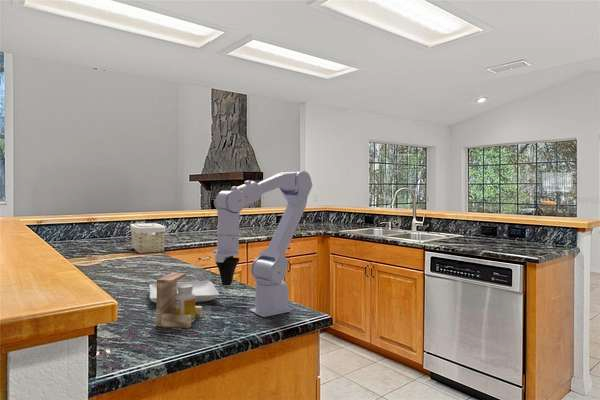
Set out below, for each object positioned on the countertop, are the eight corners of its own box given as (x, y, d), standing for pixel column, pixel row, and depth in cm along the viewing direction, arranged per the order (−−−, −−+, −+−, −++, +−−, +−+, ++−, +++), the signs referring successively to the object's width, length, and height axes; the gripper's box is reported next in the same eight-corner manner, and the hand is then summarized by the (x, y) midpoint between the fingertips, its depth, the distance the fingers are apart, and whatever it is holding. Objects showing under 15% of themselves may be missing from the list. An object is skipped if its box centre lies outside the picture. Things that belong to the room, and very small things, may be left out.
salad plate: (210, 288, 150) (210, 279, 150) (220, 303, 130) (220, 293, 130) (148, 292, 143) (149, 282, 143) (149, 309, 123) (149, 298, 123)
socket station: (202, 316, 116) (202, 273, 115) (188, 327, 106) (189, 281, 106) (172, 314, 117) (172, 272, 117) (156, 325, 107) (156, 279, 107)
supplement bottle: (197, 318, 114) (197, 283, 114) (192, 324, 109) (192, 288, 109) (177, 318, 114) (178, 283, 114) (171, 324, 109) (172, 288, 109)
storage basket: (166, 252, 232) (166, 226, 232) (136, 253, 224) (136, 227, 223) (157, 246, 253) (157, 222, 252) (129, 248, 244) (129, 223, 244)
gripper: (222, 232, 118) (221, 278, 118) (204, 236, 104) (202, 289, 104) (246, 233, 117) (244, 280, 118) (231, 238, 103) (229, 291, 103)
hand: (226, 284), depth 111 cm, fingers closed
